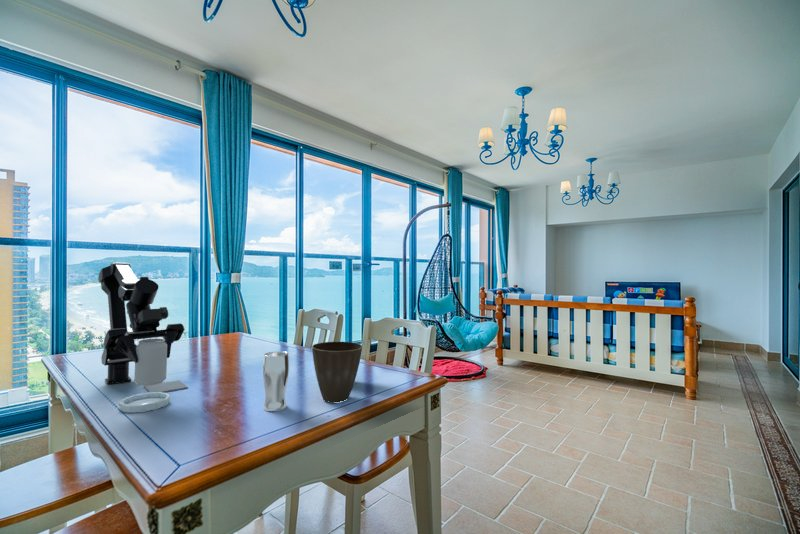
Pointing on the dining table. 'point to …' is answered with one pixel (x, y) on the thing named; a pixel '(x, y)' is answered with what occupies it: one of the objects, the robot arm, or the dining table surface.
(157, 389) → the mat
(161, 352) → the can
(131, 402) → the dish
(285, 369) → the beer glass
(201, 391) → the dining table surface
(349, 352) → the plant pot
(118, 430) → the dining table surface
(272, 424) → the dining table surface
